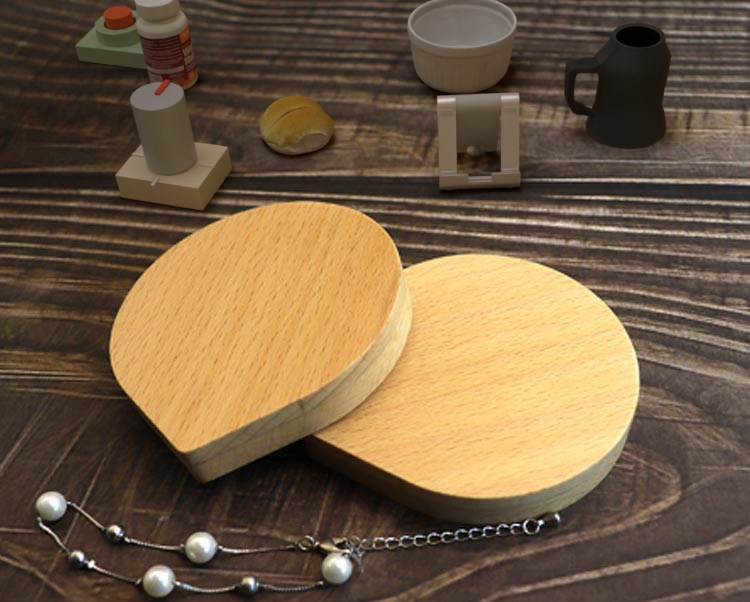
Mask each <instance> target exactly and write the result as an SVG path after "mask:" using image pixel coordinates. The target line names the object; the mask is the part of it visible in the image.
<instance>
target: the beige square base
mask: <svg viewBox="0 0 750 602" xmlns="http://www.w3.org/2000/svg"><path fill="white" fill-rule="evenodd" d="M194 142H195V147H196V152H197V161H196V163H195V164H194V165H193V166H192V167H191V168H189V169H188V170H186V171H184V172H181V173H178V174H173V175H161V174H157V173H154V172H152V171H151V170H149V168H148V167H147V164H146V160H145V156H144V153H143V149H142V145H141V144H140V145H139V146H138V147H137V148H136V150H134V152H132V153H131V155H130V157H129V158H128V159H127V160H126V161H125V162H124V164H123V165H122V166H121V168H120V169H119V170H118V171H117V172H116V174H115V175H114V177H115V180H116V183H117V187H118V190H119V194H120V197H121V198H123V199H129V200H135V201H140V202H147V203H153V204H160V205H166V206H172V207H178V208H184V209H191V210H197V211H204V210H205V208H206V207H207V206H208V205H209V203H210V202H211V200H212V199H213V198H214V196H215V195H216V193H217V192H218V190H219V189H220V187H221V186H222V184H223V183H224V181H225V180H226V178H228V176H229V174H230V173H231V172H232V171H233V167H232V161H231V154H230V149H229V146H225V145H219V144H218V145H217V144H213V143H205V142H196V141H194Z"/></svg>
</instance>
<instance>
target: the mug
mask: <svg viewBox="0 0 750 602" xmlns="http://www.w3.org/2000/svg"><path fill="white" fill-rule="evenodd" d="M671 61H672V53H671V50H670V48H669V46H668V44H667V39H666V34H665V32H664V31H663V30H662V29H661V28H659V27H658V26H656V25H653V24H650V23H645V22H627V23H624V24H621V25H618V26H617V27H616V28H614V29H613V30H612V32H611V34H610V36H609V38H608V40H607V41H606V42H605V43H604V45H603V46H602V47H600V49H599V50H598V51H597V52H596V53H595V55H593V56H589V57H588V56H587V57H579V58H575V59H570V60H568V61H567V62H566V63H565V67H564V68H565V69H564V84H563V85H564V86H563V95H564V99H565V102H566V103H567V104H566V105H567V107H568V108H569V110H570V111H571V113H572V114H574V115H577V116H585V117H586V120H585V130H586V132H587V134H588V135H589V136H590V137H591V138H592V139H594V140H595V141H597V142H598V143H600V144H602V145H605V146H608V147H612V148H618V149H641V148H645V147H650V146H652V145H654V144H656V143H658V142H659V141H660V140H661V139H663V138H664V137H665V134H666V131H667V121H666V113H665V108H664V106H663V101H664V96H665V91H666V86H667V83H668V78H669V74H670V67H671V63H672V62H671ZM580 73H581V74H585V73H586V74H588V73H590V74H597V87H596V90H595V91H596V92H595V97H594V101H593V103H592V106H591V107H590V106H587V105H585V104H584V103H582V102H579V101H577V100H576V99H575V88H576V79H577V75H578V74H580Z"/></svg>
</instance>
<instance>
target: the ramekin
mask: <svg viewBox="0 0 750 602" xmlns="http://www.w3.org/2000/svg"><path fill="white" fill-rule="evenodd" d="M517 19H518V18H517V15H516V14H515V13H514V11H513V10H512V9H511V8H510V7H508V6H507V4H504V3H502V2H500V1H498V0H428V1H426V2H424V3H422V4H420V5H419V6H417V8H415V9H414V10H413V11H411V13H410V15H409V17H408V19H407V36H408V39H409V42H410V48H411V49H410V50H411V56H412V61H413V62H412V63H413V67H414V70H415V72H416V73H415V74H417V76H418V78H419V79H420V80H421V81H422V82H423V83H424V84H425V85H426V86H428V87H429V88H432V89H433V90H436V91H439V92H441V93H442V92H443V93H446V94H447V93H448V94H453V95H469V94H476V93H479V92H482V91H485V90H488V89H490V88H491V87H494V86H495V85H496V84H498V83H499V81H501V80H502V79H503V78H504V77H505V75H506V73H507V72H508V69H509V67H510V62H511V59H512V58H511V57H512V52H513V47H514V46H513V45H514V40H515V39H516V36H517V33H518V20H517Z"/></svg>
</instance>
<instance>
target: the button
mask: <svg viewBox="0 0 750 602" xmlns="http://www.w3.org/2000/svg"><path fill="white" fill-rule="evenodd" d="M132 11H133V10H132V8H130V7H129V6H126V5H115V6H111V7H109V8H107V9H105V11H104V12H103V16H104V19H105V23H106V26H107V28H108V29H110V30H120V29H126V28H128V27H130V26H132V25H133V24H134V20H133V15H132Z"/></svg>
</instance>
